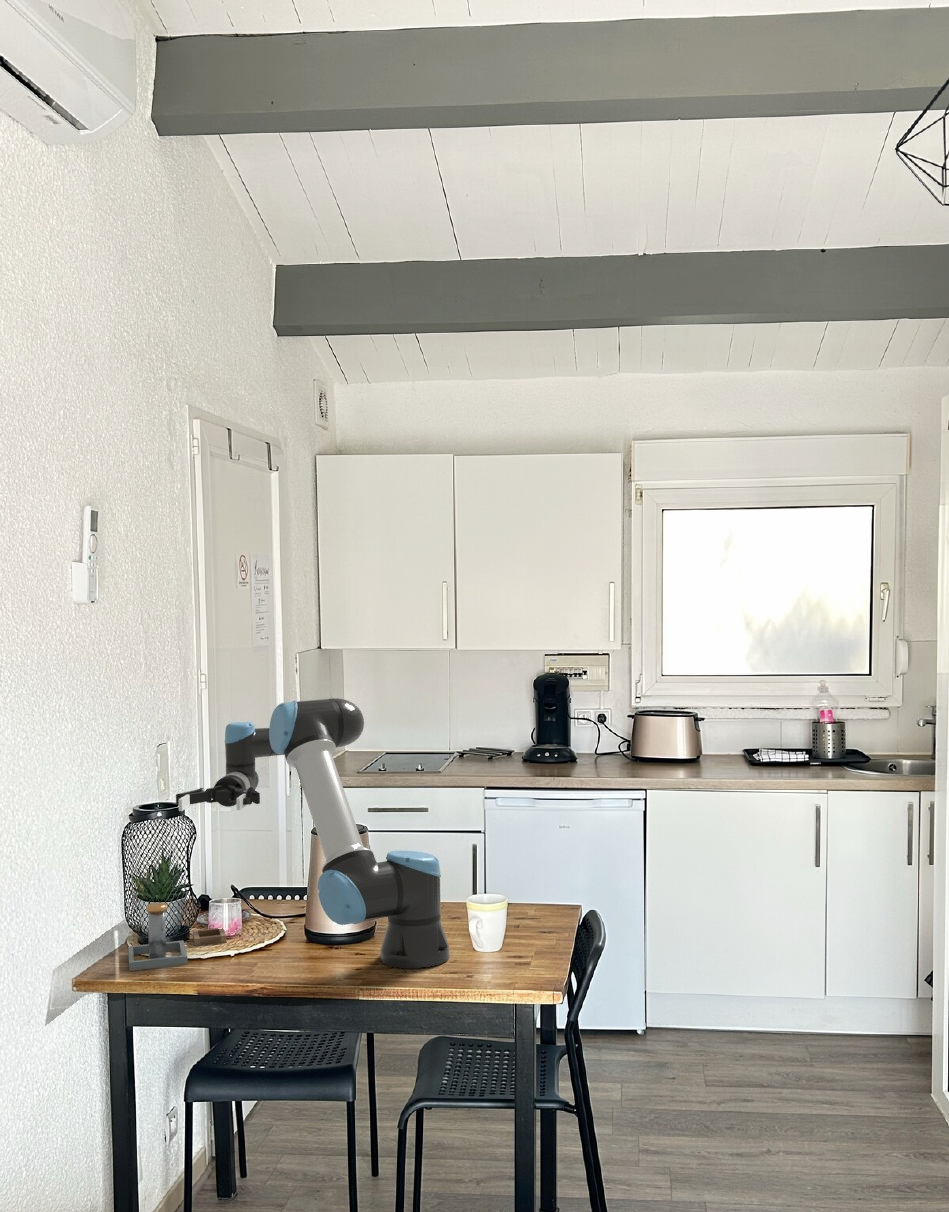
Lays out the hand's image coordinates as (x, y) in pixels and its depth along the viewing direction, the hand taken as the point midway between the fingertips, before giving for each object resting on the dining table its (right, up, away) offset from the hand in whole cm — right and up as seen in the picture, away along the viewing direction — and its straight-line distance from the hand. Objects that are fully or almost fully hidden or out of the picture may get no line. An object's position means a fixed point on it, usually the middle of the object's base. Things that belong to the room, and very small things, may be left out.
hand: (209, 804), depth 264 cm
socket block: (0, -32, -2) cm, 32 cm away
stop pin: (-8, -31, -15) cm, 36 cm away
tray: (-8, -32, -15) cm, 36 cm away
